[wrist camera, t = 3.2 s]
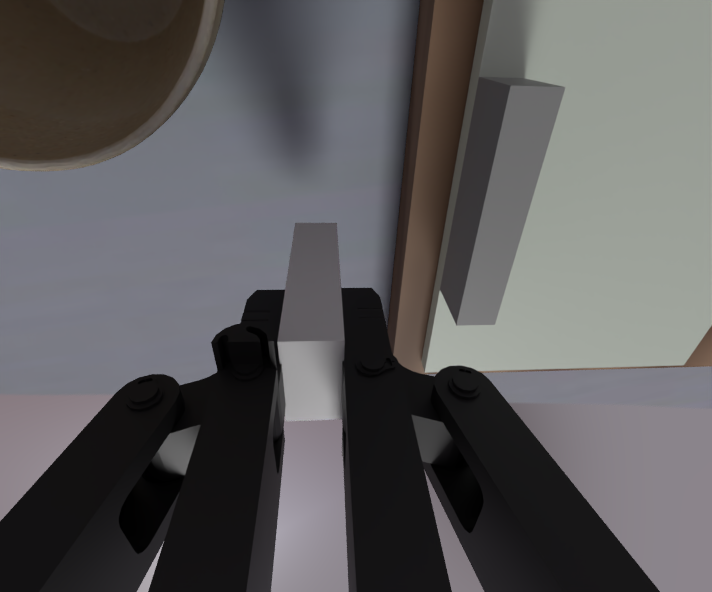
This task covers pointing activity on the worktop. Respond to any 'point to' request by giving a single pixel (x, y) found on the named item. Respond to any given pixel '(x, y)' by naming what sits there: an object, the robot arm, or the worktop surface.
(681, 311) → the lid
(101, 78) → the flower pot
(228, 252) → the worktop surface
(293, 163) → the worktop surface
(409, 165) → the wooden box
